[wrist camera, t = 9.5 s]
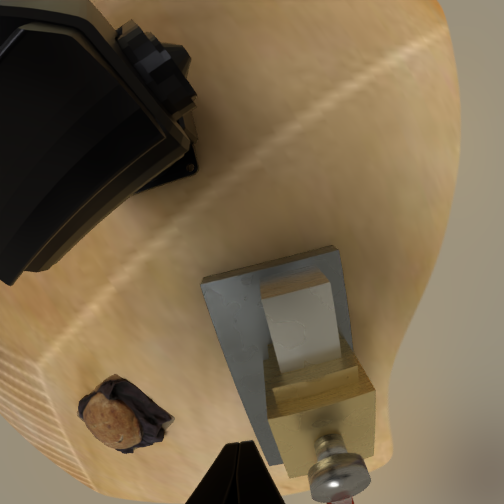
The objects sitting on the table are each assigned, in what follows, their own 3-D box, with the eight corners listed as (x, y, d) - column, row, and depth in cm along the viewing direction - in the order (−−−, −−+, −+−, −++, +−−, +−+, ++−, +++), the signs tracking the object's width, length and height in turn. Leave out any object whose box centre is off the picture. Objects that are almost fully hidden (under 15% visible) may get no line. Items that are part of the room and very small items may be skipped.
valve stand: (268, 455, 24) (273, 529, 14) (203, 277, 19) (168, 348, 10) (354, 434, 23) (380, 503, 14) (332, 245, 19) (396, 292, 10)
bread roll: (132, 450, 25) (123, 473, 21) (73, 406, 23) (59, 426, 20) (186, 418, 23) (179, 446, 19) (114, 362, 22) (97, 387, 18)
